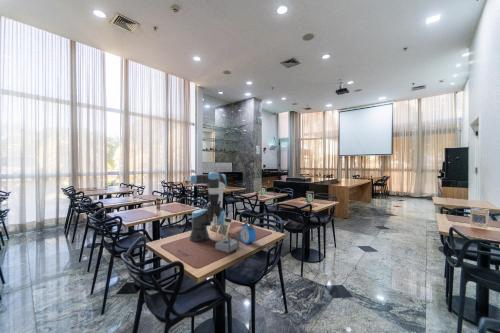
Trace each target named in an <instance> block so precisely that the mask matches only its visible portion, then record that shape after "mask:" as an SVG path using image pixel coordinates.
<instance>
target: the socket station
mask: <svg viewBox="0 0 500 333" xmlns="http://www.w3.org/2000/svg"><path fill="white" fill-rule="evenodd" d="M242 229H243V227H242V226H236V227H233V228H231V229H228V230H227V238H224V239H221V240H219V241H218V242H216V243H215V246H214V248H215V250H216V251H217V250H218V251H220V252H223V253H228V254H231V252H233V251H234V250H236V249H238V248H240V235H239V231H240V230H242ZM235 233H236V240H234V239H231V234H235Z"/></svg>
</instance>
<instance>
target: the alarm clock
mask: <svg viewBox="0 0 500 333" xmlns="http://www.w3.org/2000/svg"><path fill="white" fill-rule="evenodd" d="M241 227H243V229H242V230H240V231H239V239H240V240H241V242H242V243H244V244H245V245H246V244H247V245H249V244H251V243H253V242H255V240H256V238H257V237H256V236H257V233H256V230H255V228H254V225H253V224H251V223H248V222H245V221H244V222H242V224H241Z"/></svg>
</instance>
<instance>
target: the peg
mask: <svg viewBox="0 0 500 333" xmlns="http://www.w3.org/2000/svg"><path fill="white" fill-rule="evenodd" d="M213 217H214V226H211V230H212V232H216V230H217V226H216V214H214V215H213Z"/></svg>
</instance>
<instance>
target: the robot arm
mask: <svg viewBox="0 0 500 333" xmlns="http://www.w3.org/2000/svg"><path fill="white" fill-rule="evenodd" d="M226 175H227V174H224V173H219V172H217V171H216V172H215V171H211V172H209V173H208V174H207V173H206V174H200V173H199V174H197V173H194V174H191V175H190V177H189V178H190V183H191V185H201V186H205V187H208V200H209V201H208V203H206V207H207V208H200V209H196V210H193V211H192V212H191V231H190V235H189V240H190V241H191V242H196V243H197V242H198V243H200V242H205V241H207V240H209V239H210V234H209V231H208V228H207V226H208V227H209V226H210V227H212V226H214V217H213V215H214V214H216V227H217V226H218V227H219V226H224V225H225V221H226V215H227V214H226V210H225V209H224V208H223V199H224V189H225V187H227V176H226Z"/></svg>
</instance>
